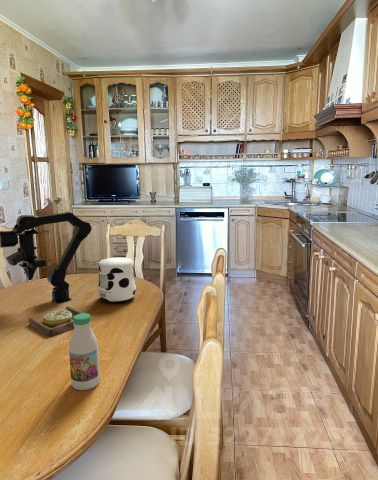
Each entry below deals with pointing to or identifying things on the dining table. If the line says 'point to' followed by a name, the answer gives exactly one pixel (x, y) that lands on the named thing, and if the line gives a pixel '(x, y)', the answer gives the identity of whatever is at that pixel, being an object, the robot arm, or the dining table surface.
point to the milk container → (116, 280)
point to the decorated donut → (57, 317)
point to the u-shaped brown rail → (54, 330)
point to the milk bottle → (83, 354)
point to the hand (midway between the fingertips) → (30, 280)
